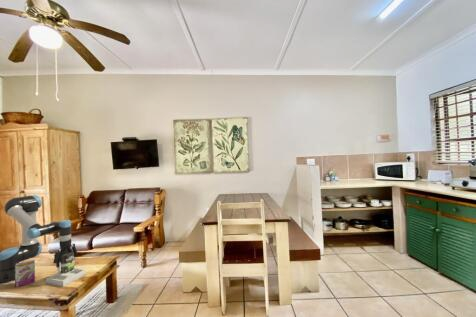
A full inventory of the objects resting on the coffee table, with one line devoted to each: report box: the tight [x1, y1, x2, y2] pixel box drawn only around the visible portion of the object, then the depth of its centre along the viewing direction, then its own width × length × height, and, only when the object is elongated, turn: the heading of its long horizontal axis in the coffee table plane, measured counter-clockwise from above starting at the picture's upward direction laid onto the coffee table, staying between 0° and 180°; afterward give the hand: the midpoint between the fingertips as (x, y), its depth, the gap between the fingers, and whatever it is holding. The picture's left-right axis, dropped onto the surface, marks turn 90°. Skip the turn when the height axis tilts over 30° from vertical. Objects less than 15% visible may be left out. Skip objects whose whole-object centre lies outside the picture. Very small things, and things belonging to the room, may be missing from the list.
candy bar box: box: [14, 259, 36, 288], centre depth 174 cm, size 11×5×16 cm, turn 131°
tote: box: [45, 267, 87, 287], centre depth 180 cm, size 18×18×4 cm
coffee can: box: [57, 250, 75, 274], centre depth 179 cm, size 10×10×14 cm
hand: (66, 267), depth 180 cm, fingers closed on coffee can, 10 cm apart
